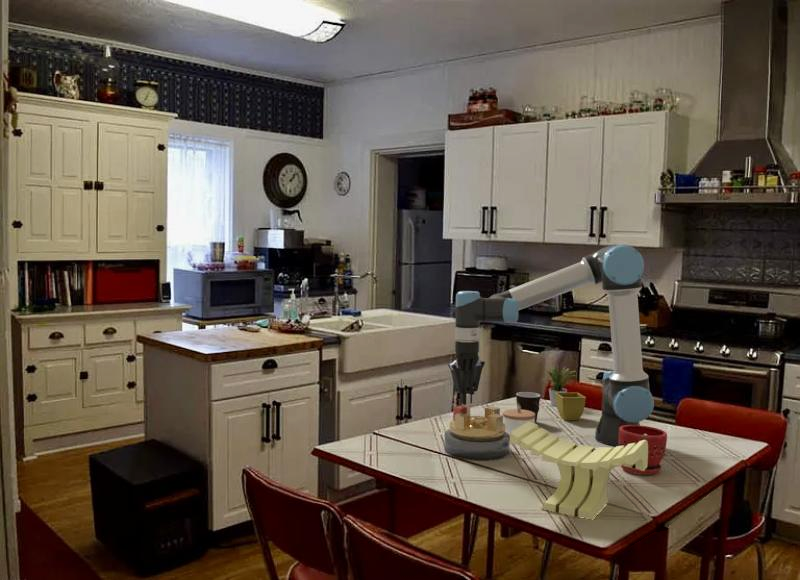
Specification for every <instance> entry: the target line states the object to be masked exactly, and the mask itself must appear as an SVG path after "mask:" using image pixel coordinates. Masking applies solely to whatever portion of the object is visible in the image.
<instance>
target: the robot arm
mask: <svg viewBox="0 0 800 580" xmlns="http://www.w3.org/2000/svg"><path fill="white" fill-rule="evenodd" d="M644 268H645V261H644V258H643V256H642V254H641V252H639V251H638V249H636V248H635V247H634V246H631V245H629V244H609V245H607V246H603V248H601V249H599V250H597V251H595V252H593V253H591V254H588V255H586V256H584V257H582V259H581V261H579V262H577V263H574V264H572V265H569V266H567V267H564V268H562V269H558V270H556V271H554V272H551V273H549V274H547V275H544V276H541V277H538V278H536V279H533V280H530V281H528V282H525V283H523V284H520V285H518V286H515V287H512V288H510V289H508V290H505V291H501V292H500V293H494V294H492V295H491V296H490V297H488V298H487V297H481V295H480V292H479V291H477V290H476V291H475V290H474V291H473V290H461V291H458V292H457V293H456V295H455V329H454V339H455V342H454V353H455V357H454V360H453V362H452V363H450V362H449V363H448V364H447V365H448V368H449V370H450V372H451V376H452V381H453V383H452V384H453V387H454V392H456V393H459V394H460V401H459V402H460V404H461V406H464V407H467V415H470V416H471V404H472V403H473V395H475V392H478V389H479V386H480V381H481V376H482V371H483V368H484V366H485V364H486V362H485V361H484V360H481V359H480V357H479V353H480V342H479V340H480V323H481V322H482V323H505V324H508V323H517V322H518V320H519V311H521V310H523V309H526V308H529V307H531V306H533V305H534V306H535V305H537V304H538V303H541V302H544V301H547V300H550V299H552V298H554V297H555V298H556V297H557V296H560V295H562V294H563V295H564V294H566V293H568V292H571V291H574V290H576V289H578V288H581V287H584V286H586V285H589V284H591V285H593V286H595V285H597V284H601V283H602V284H601V285H602V291H603V292H604V293H605V294H607V297H608V299H607V300H608V311H609V323H610V336H611V339H610V340H611V351H612V363H613V364H612V365H613V370H607V371H604V373H603V377H602V380H601V381H602V395H601V397H602V398H601V415H600V419H599V421H598V424H597V427H596V429H595V432H594V436H595V437H594V438H595V440H596V441H597V442H599V443H602V444H604V445H609V446H615V447H616V446H619V443H618V438H619V428H620V427H621V426H625V425H640V426H641V424H640V422H642V421H644V420H646V419H647V418H648V417H649V416H651V414H652V412H653V410H654V406H655V401H654V397H653V395H652V392H651V391H650V382H649V381H650V380H649V379H650V378H649V375H648V373H646V372H645V371H644V369H643V367H644V366H643V354H642V343H641V342H642V341H641V328H640V327H641V325H640V313H639V310H640V309H639V299H638V293H639V292H640V291H641V290H642V288H643V283H642V282H643V279H642V275H643V272H644Z"/></svg>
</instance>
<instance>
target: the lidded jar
mask: <svg viewBox="0 0 800 580" xmlns="http://www.w3.org/2000/svg"><path fill="white" fill-rule="evenodd" d="M502 416H503V423H504V424H505V432H506V433H508V434H509V436H510V432H512V431H513V430H515V429H517V428H519V427H520V426H522V425H524V424H525V423H527V422H532V423H535V413H534V412H532V411H528V410H522V409H521V408H518V409H517V408H511V409H505V410H503V411H502Z"/></svg>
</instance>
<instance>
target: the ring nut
mask: <svg viewBox="0 0 800 580" xmlns="http://www.w3.org/2000/svg"><path fill="white" fill-rule="evenodd" d="M500 412H501V408H500V407H495V406H487V407H484V416H482V415H471V414H470V415H467V407H464V406H462V405H457V406H454V407H453V413H452V415H453V416H452V420H451V421H450V422H449V429H450V435H452V436H453V437H455V438H458V439H462V440H468V441H478V442H486V441H496V440H500V439H502V438H504V437H505V432H506V430H505V424H504V423H503V414H502V415H501V413H500Z"/></svg>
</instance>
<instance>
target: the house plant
mask: <svg viewBox="0 0 800 580" xmlns="http://www.w3.org/2000/svg"><path fill="white" fill-rule="evenodd" d="M566 367H567V365H565V366H563V368H562V370H561V371H560V370H559V366H558V364H556V367H554V366H552V368H551V369H552V370H548V369H546V371H547V374H548V375H549V376H550V378H551V380H550V379H548V378H543V380H545V381H548V382H549V383H550V388H549V389H548V392H549V399H550V406H552V407H557V404H556V393H568V390H567V388H564V387H566V385H569V386H572V383H573V384H574V382H573V380H572V379H569V378H570V377H576V376H577V375H578V374H577V375H576V374H575V375H573V373H575V370H573V371H569V369H570V367H569V368H566ZM555 368H556V369H555ZM567 378H568V379H567Z"/></svg>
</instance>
